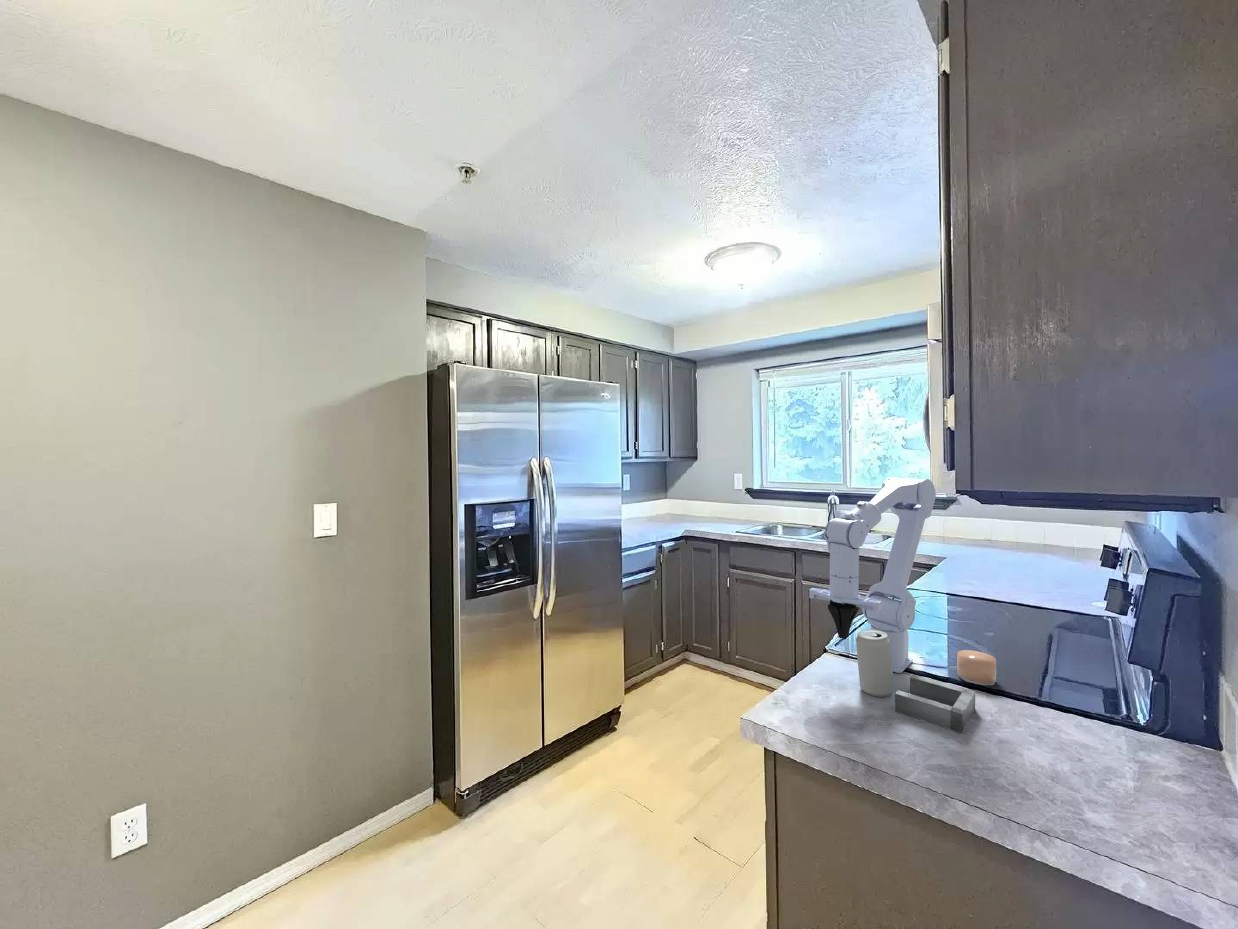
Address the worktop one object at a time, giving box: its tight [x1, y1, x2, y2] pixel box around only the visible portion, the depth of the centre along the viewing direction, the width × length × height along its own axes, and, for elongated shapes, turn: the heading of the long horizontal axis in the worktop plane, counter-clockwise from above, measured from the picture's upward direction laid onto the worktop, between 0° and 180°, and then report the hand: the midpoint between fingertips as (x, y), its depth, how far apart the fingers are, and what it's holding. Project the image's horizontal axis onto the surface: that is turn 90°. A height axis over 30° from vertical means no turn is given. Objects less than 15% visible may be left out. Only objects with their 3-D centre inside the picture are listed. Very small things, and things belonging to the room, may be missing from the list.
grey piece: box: [894, 673, 976, 734], centre depth 101 cm, size 11×11×4 cm
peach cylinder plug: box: [956, 649, 997, 684], centre depth 114 cm, size 7×7×5 cm
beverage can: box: [855, 629, 895, 698], centre depth 108 cm, size 6×6×12 cm
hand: (843, 637), depth 112 cm, fingers closed
